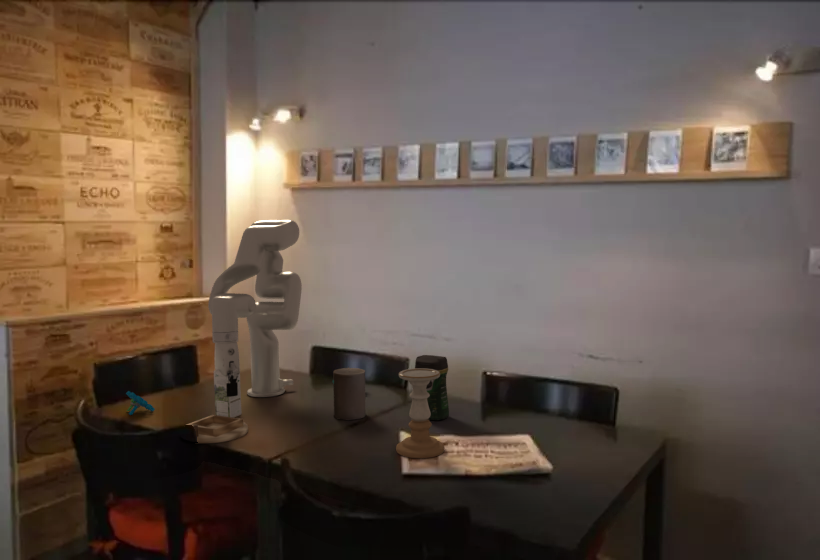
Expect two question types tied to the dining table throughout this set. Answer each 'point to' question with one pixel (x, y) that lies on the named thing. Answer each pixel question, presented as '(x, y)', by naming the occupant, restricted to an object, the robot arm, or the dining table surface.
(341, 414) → the pillar candle
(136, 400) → the blue t-shaped piece
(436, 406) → the coffee jar
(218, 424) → the flange base
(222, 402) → the syrup box
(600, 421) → the dining table surface
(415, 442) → the candle holder
